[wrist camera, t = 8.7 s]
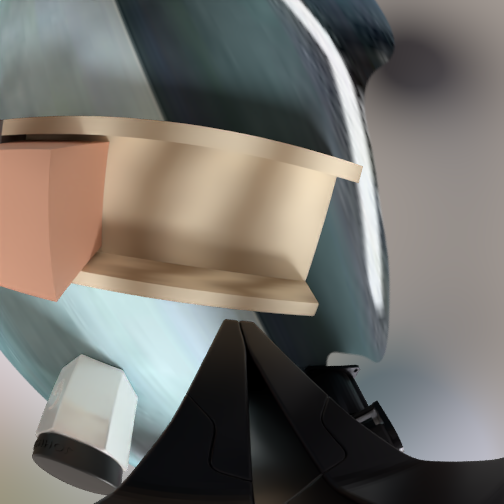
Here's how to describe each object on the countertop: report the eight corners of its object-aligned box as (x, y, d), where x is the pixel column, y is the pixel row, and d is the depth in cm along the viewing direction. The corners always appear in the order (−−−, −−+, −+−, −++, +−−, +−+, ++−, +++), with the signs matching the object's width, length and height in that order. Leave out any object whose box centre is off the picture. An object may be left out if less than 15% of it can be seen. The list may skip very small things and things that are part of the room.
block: (109, 142, 14) (51, 149, 8) (101, 246, 17) (56, 301, 11) (27, 139, 13) (-40, 152, 7) (25, 233, 16) (-30, 275, 9)
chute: (334, 159, 18) (362, 166, 14) (297, 286, 22) (313, 316, 18) (26, 119, 13) (-6, 120, 10) (23, 243, 17) (-3, 265, 13)
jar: (91, 342, 21) (51, 451, 10) (152, 391, 25) (142, 494, 14) (53, 372, 22) (19, 457, 11) (106, 412, 26) (90, 495, 15)
